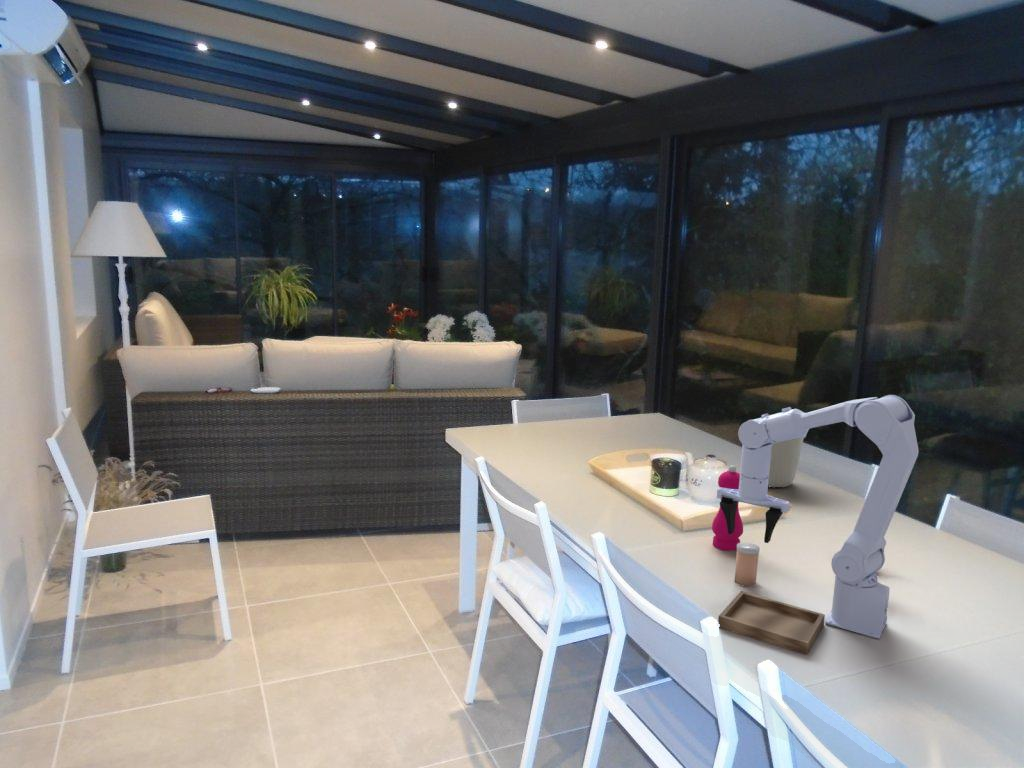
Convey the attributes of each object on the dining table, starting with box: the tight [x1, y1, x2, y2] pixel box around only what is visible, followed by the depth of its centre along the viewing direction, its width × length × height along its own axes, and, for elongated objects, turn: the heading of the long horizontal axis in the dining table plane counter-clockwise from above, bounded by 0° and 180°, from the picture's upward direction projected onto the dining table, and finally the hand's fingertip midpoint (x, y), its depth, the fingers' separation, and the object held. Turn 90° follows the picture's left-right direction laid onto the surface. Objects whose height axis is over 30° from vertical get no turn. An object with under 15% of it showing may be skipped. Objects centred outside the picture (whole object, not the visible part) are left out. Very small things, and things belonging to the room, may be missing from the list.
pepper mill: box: [711, 464, 744, 552], centre depth 175 cm, size 7×7×20 cm
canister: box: [768, 434, 807, 488], centre depth 224 cm, size 18×18×21 cm
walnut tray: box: [717, 590, 826, 656], centre depth 139 cm, size 16×13×2 cm
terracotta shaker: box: [734, 542, 760, 587], centre depth 157 cm, size 5×5×8 cm
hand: (748, 537), depth 156 cm, fingers open, 7 cm apart
